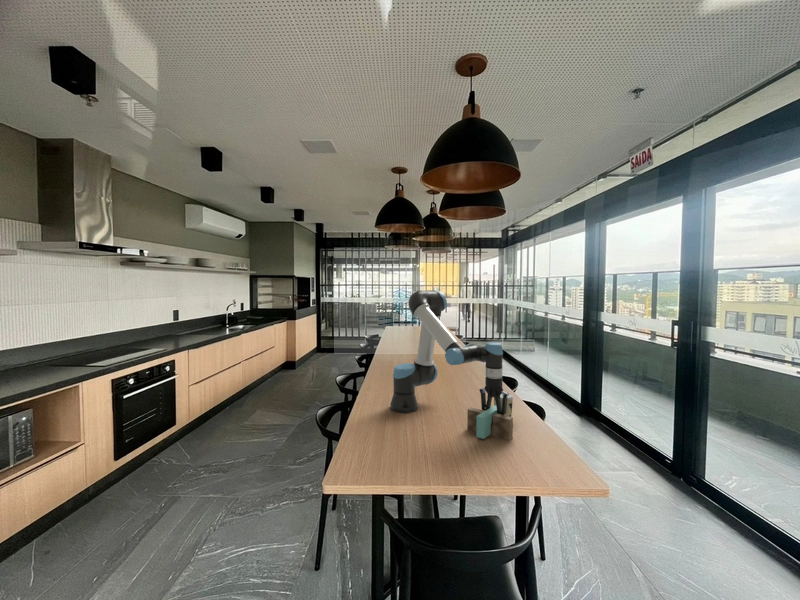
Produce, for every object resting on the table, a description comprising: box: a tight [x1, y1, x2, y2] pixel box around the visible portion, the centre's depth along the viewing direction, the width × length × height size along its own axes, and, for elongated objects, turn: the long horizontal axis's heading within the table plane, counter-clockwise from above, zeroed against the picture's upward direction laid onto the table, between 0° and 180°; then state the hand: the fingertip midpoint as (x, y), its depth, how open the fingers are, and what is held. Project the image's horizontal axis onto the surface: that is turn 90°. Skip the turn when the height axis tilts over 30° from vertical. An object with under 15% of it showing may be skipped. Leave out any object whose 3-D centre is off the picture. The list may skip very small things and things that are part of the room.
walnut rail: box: [466, 407, 514, 441], centre depth 152 cm, size 20×4×9 cm, turn 50°
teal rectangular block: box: [476, 404, 498, 440], centre depth 152 cm, size 4×18×9 cm, turn 140°
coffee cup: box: [493, 393, 514, 417], centre depth 169 cm, size 9×9×12 cm
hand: (493, 427), depth 156 cm, fingers closed on teal rectangular block, 3 cm apart
